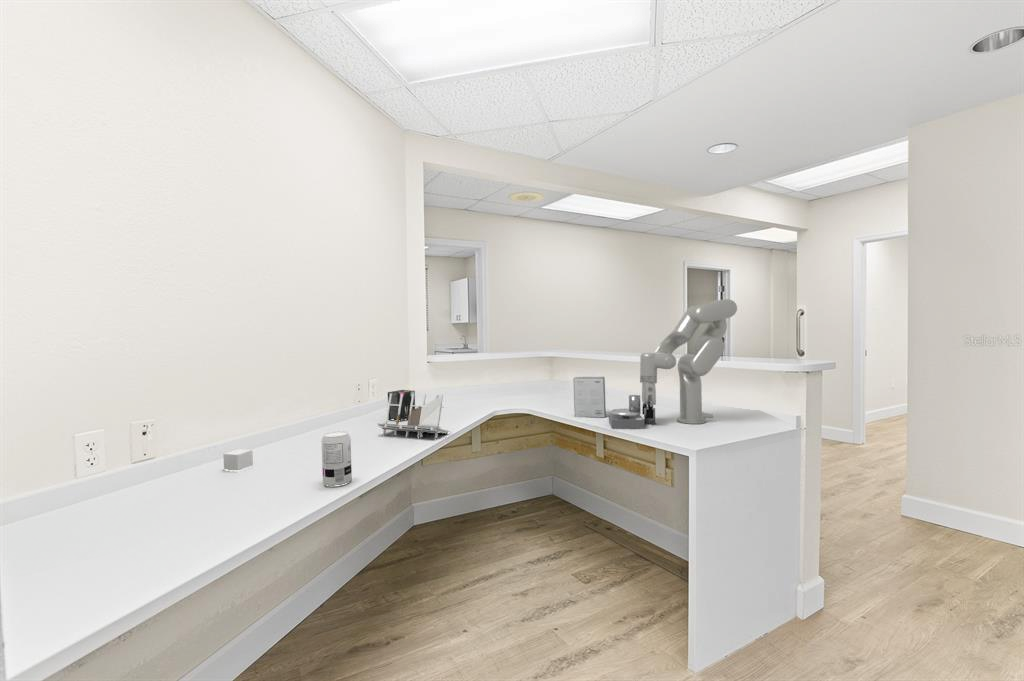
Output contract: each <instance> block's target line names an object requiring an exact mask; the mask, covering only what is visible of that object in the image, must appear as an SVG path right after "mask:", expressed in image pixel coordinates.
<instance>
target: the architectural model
mask: <svg viewBox="0 0 1024 681" xmlns="http://www.w3.org/2000/svg"><path fill="white" fill-rule="evenodd" d="M403 385H404V384H403ZM403 385H402V386H403ZM402 386H401V387H402ZM403 387H404V386H403ZM422 396H423V398H422V403H421V405H420V404H419V405H418V404H415V405H413V401H414V394H412V399H411V405H410V411H409V418H408V420H407V424H399V422H400V421H399V417H400V411H401V405H402V398H403V394H401V397H400V403H399V405H398V404H391V398H392V393H390V396H389V402H388V401H387V403H386V404H385V405H386V406H387V409H386V415H385V418H384V419H385V421H384V422H383V423H379V422H378V423H377V427H379V428H381V430H383V432H382V435H383V434H385V435H386V432H387V430H388V431H394V434H393V436H394V435H396V436H398V431H399V432H405V437H406V436H408V437H409V433H410V431H413V432H412V433H417V435H416V437H420V438H421V437H423V433H424V432H427V434H428V433H429V434H434V439H435V438H437V439H438V436H439V434H438V433H445V434H444V435H447V434H446V433H448V432H450V431H449V430H446V429H443V428H441V426H440V422H441V415H442V413H441V412H442V409H443V408H444V406H443V398H444V395H443V394H440V396H439V395H438V394H436V396H435V397H434V399H433V400H430V401H428V402H427V403H426V399H427V398H426V397H427V394H423V395H422ZM390 405H392V406H399V409H398V415H397V421H395V422H396V423H388V421H389V417H388V415H389V409H390ZM413 406H414V407H415V409H414V410H412V407H413ZM397 430H398V431H397ZM450 433H451V432H450ZM423 438H424V437H423Z"/></svg>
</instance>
